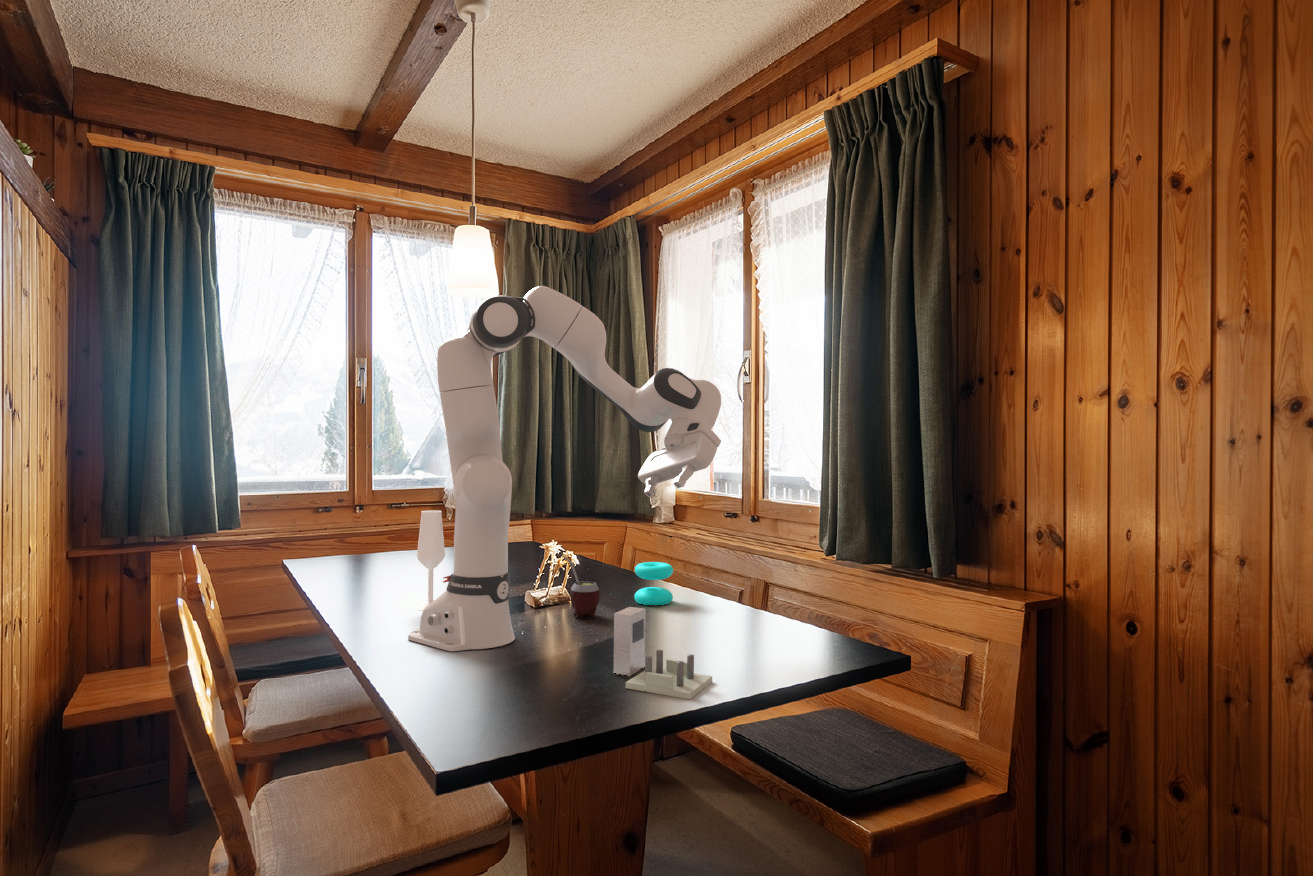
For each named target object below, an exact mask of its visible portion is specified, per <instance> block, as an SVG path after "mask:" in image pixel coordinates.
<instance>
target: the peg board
mask: <svg viewBox="0 0 1313 876" xmlns="http://www.w3.org/2000/svg"><path fill="white" fill-rule="evenodd" d="M655 651H656V653H655V655H656V656H655V657H656V659H655V662H656V663H655V664H656V665H655V666H653V656H649V655H645V668H644V670H643V671H641V672H640V673H638V674H636V675H635V676H633V677H632V678H630V679H628V680H627V681H625V689H629V690H635V691H639V692H645V691H646V693H651V694H658V695H663V696H669V697H675V698H680V699H685V700H691V699H692V698H693V697H695V696H696V695H697V694H699V693H700V692H701V691H703V690H704V689H705V688H706V687H707V686H709V685H710V684H711V683H713V676H712V675H706V674H701V673H700V674H699V673H695V654H687V655H686V656H687V657H686V661H685V660H679V659H670V658H666V662H665V663H666V667H665V668H664V650H662V649H657V650H655ZM703 688H704V689H703ZM699 691H700V692H699ZM698 692H699V693H698Z"/></svg>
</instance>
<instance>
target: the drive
mask: <svg viewBox="0 0 1313 876" xmlns="http://www.w3.org/2000/svg"><path fill="white" fill-rule="evenodd" d="M646 610H647V609H646V608H643V607H633V606H628V607H626V608H623V609H621V610H619V611H617V612H614V613H613V674H614V673H616V674H615V675H619V674H621V675H620V676H624V675H627V676H626V677H631V675H632V674H633V675H635V674H637V673H638V672H640V671H641V670H640V669H641V668H643V669H645V668H644V667H645V657H646V622H647V621H646V619H647V618H646V613H647V612H646ZM639 670H640V671H639ZM637 671H638V672H637ZM636 672H637V673H636ZM634 673H635V674H634ZM633 675H632V676H633Z"/></svg>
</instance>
